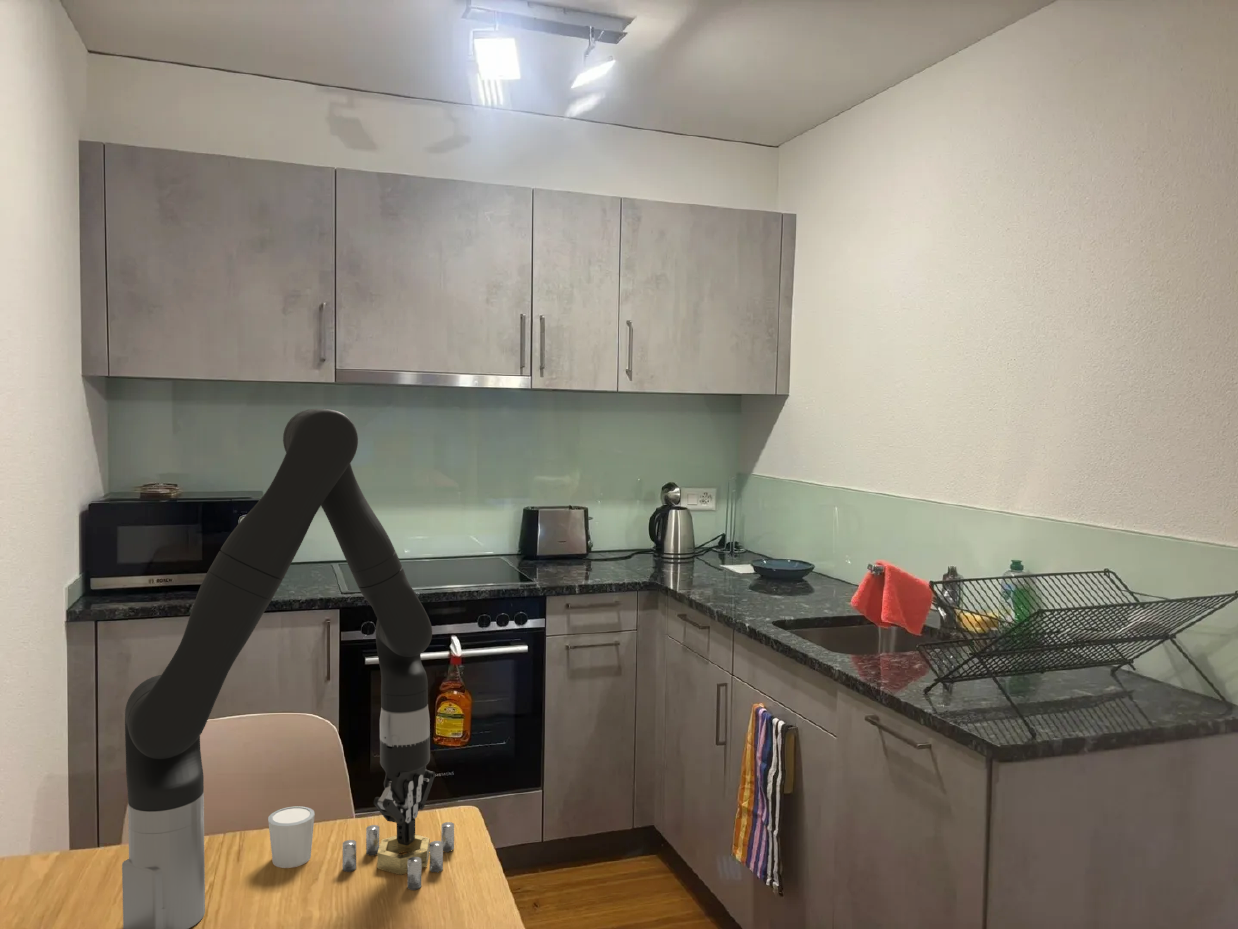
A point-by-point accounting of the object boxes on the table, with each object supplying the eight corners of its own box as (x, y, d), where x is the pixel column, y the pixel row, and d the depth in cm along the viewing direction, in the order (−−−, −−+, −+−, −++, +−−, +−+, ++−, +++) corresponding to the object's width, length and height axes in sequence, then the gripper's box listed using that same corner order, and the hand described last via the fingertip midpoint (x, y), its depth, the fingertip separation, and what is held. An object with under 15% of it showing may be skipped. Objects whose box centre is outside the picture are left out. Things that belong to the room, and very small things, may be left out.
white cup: (299, 872, 138) (299, 827, 138) (258, 867, 139) (258, 822, 139) (323, 851, 145) (323, 808, 144) (284, 846, 146) (283, 803, 146)
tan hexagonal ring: (412, 878, 137) (412, 862, 137) (366, 865, 140) (366, 850, 140) (440, 856, 144) (440, 840, 144) (396, 844, 147) (396, 829, 147)
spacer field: (415, 891, 133) (416, 864, 133) (339, 870, 139) (339, 844, 139) (467, 850, 146) (467, 826, 145) (395, 832, 151) (395, 809, 151)
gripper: (411, 716, 148) (412, 820, 150) (357, 745, 136) (358, 857, 138) (449, 723, 145) (450, 829, 147) (398, 753, 133) (399, 867, 135)
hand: (406, 842), depth 142 cm, fingers closed
